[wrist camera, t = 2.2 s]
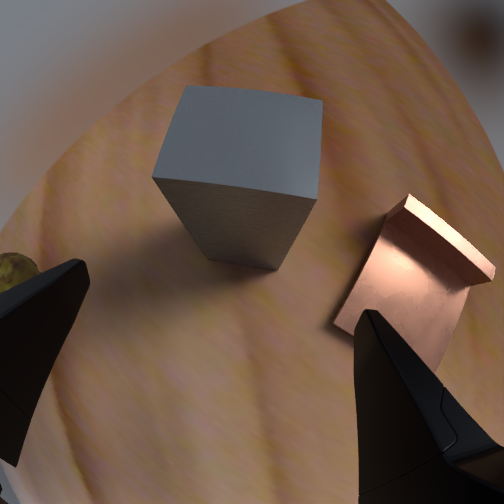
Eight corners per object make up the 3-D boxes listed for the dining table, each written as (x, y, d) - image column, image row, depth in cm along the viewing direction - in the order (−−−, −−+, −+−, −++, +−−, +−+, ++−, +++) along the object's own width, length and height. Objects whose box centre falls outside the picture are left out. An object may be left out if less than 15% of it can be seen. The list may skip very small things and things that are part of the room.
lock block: (277, 270, 20) (317, 199, 8) (207, 259, 20) (151, 176, 8) (285, 217, 21) (322, 100, 9) (218, 207, 21) (186, 85, 9)
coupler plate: (425, 380, 18) (452, 387, 15) (330, 323, 19) (347, 323, 16) (468, 275, 20) (495, 267, 16) (387, 212, 21) (409, 194, 18)
